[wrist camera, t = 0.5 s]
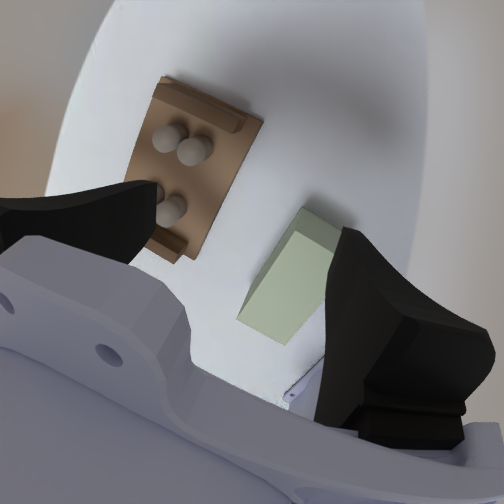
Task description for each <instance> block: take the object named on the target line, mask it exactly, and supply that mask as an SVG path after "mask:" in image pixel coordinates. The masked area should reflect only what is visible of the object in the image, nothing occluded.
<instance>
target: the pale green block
mask: <svg viewBox="0 0 504 504" xmlns="http://www.w3.org/2000/svg"><path fill="white" fill-rule="evenodd" d="M341 232H342V231H341V230H339V229H337V228H336V227H334V226H333V225H331V224H329V223H328V222H326V221H324V220H323V219H321V218H320V217H318V216H316V215H315V214H313V213H311V212H310V211H308V210H306V209H305V208H303V207H301V208H300V210H299V212H298V213H297V215H296V216H295V218H294V219H293V221H292V223H291V224H290V226H289V227H288V229H287V230H286V232H285V234H284V235H283V237H282V238H281V240H280V241H279V243H278V245H277V246H276V248H275V249H274V251H273V252H272V254H271V255H270V257H269V259H268V260H267V262H266V263H265V265H264V266H263V268H262V269H261V271H260V272H259V274H258V276H257V277H256V279H255V280H254V282H253V283H252V285H251V286H250V289H249V291H248V293H247V296H246V298H245V300H244V303H243V305H242V307H241V309H240V312H239V314H238V316H237V320H238V321H240V322H242V323H244V324H246V325H247V326H249V327H251V328H253V329H255V330H257V331H258V332H260V333H262V334H264V335H266V336H268V337H270V338H271V339H273V340H275V341H277V342H279V343H281V344H283V345H286V344H287V342H288V341H289V340H290V339H291V338H292V337H293V336H294V334H295V333H296V332H297V331H298V330H299V329H300V328H301V326H302V325H303V324H304V323H305V322H306V321H307V319H308V318H309V317H310V316H311V315H312V314H313V312H314V311H315V310H316V309H317V308H318V306H319V305H320V304H321V303H322V302H323V300H324V299H325V290H326V281H327V273H328V270H329V267H330V264H331V261H332V259H333V256H334V253H335V250H336V247H337V244H338V241H339V238H340V235H341Z"/></svg>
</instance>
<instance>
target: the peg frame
mask: <svg viewBox="0 0 504 504" xmlns="http://www.w3.org/2000/svg"><path fill="white" fill-rule="evenodd" d="M152 97H153V98H152V100H151V103H150V106H149V108H148V111H147V113H146V116H145V119H144V121H143V124H142V127H141V130H140V133H139V135H138V138H137V141H136V144H135V147H134V150H133V153H132V156H131V159H130V162H129V166H128V169H127V172H126V175H125V179H124V182H128V181H133V180H148V181H153V182H158V184H157V209H156V229H155V231H154V232H153V234H152V236H151V237H150V239H149V240H148V242H147V243H146V245H145V246H144V247H145V248H147V249H149V250H150V251H152V252H154V253H155V254H157V255H159V256H160V257H162V258H164V259H165V260H167V261H169V262H171V263H172V264H175V262H176V261H177V260H178V259H179V258H180V257H181V256H182V255H183V254H184V255H185V256H187V257H189V258H191V259H192V260H195V259H196V258H197V256H198V254H199V252H200V249H201V247H202V245H203V243H204V241H205V239H206V237H207V235H208V232H209V230H210V228H211V226H212V224H213V222H214V220H215V218H216V216H217V214H218V211H219V209H220V207H221V205H222V203H223V201H224V199H225V197H226V195H227V193H228V191H229V189H230V187H231V185H232V183H233V181H234V179H235V177H236V175H237V173H238V171H239V169H240V167H241V165H242V163H243V161H244V159H245V157H246V155H247V153H248V151H249V149H250V147H251V145H252V143H253V141H254V139H255V138H256V136H257V134H258V132H259V130H260V128H261V126H262V124H263V121H261V120H259V119H257V118H256V117H254V116H252V115H250V114H248V113H246V112H243V111H241V110H239V109H237V108H235V107H233V106H231V105H229V104H227V103H225V102H223V101H220V100H218V99H216V98H214V97H212V96H210V95H207V94H205V93H203V92H201V91H198V90H196V89H194V88H191V87H189V86H187V85H184V84H182V83H180V82H177V81H175V80H172V79H170V78H167V77H162V76H161V78H160V81H159V83H157V86H156V88H155V91H154V93H153V96H152Z"/></svg>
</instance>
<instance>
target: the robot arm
mask: <svg viewBox="0 0 504 504" xmlns="http://www.w3.org/2000/svg"><path fill="white" fill-rule="evenodd" d="M157 184H158V182H153V181H148V180H133V181H128V182H123V183H118V184H114V185H109V186H105V187H101V188H96V189H91V190H87V191H82V192H77V193H71V194H65V195H58V196H49V197H37V198H0V504H497V503H499V502H500V501H502V500H504V444H503V439H502V435H501V430H500V426H499V423H497V422H473V423H469V424H466V425H464V426H463V425H462V420H461V416H463V415H464V414H465V413H466V406H465V400H466V399H467V398H468V397H469V396H470V395H471V394H472V393H473V391H475V390H476V388H477V387H478V386H479V385H480V384H481V383H482V382H483V381H484V380H485V378H486V377H487V375H488V374H489V373H490V371H491V369H492V367H493V364H494V362H495V353H496V352H495V350H494V347H493V344H492V341H491V339H490V337H489V334H488V332H487V330H486V329H484V328H482V327H480V326H477V325H476V324H473V323H471V322H469V321H467V320H465V319H463V318H461V317H459V316H458V315H456V314H454V313H452V312H451V311H449V310H447V309H445V308H444V307H442V306H441V305H439V304H438V303H436V302H435V301H433V300H432V299H430V298H429V297H428V296H426V295H425V294H424V293H422V292H421V291H420V290H418V289H417V288H415V287H414V286H413V285H412V284H411V283H410V282H409V281H408V280H406V279H405V278H404V277H403V276H402V275H401V274H400V273H399V272H398V271H397V270H396V269H395V268H394V267H393V266H392V265H391V264H390V263H389V262H388V261H387V260H386V259H385V258H384V257H383V256H382V255H381V254H380V252H379V251H378V250H377V249H376V248H375V247H374V246H373V244H372V243H371V242H370V241H369V240H368V239H367V238H366V237H365V236H364V235H363V234H362V233H361V232H360V231H358V230H354V229H351V228H347V227H344V226H343V229H342V232H341V235H340V238H339V241H338V244H337V247H336V250H335V253H334V256H333V259H332V261H331V264H330V267H329V270H328V273H327V281H326V290H325V325H326V343H325V355H324V357H323V358H322V359H321V360H320V361H319V362H318V363H317V364H316V365H315V366H314V367H313V368H312V369H311V370H310V371H309V372H308V373H307V374H306V375H305V376H304V377H303V378H302V379H301V380H300V381H299V382H297V383H296V384H295V385H294V386H293V387H292V388H291V389H290V390H289V391H288V392H287V393H286V394H285V395H284V396H283V400H284V401H285V402H287V403H290V405H289V410H285V409H283V408H281V407H278V406H276V405H274V404H272V403H270V402H267V401H265V400H263V399H261V398H259V397H257V396H254V395H252V394H250V393H248V392H246V391H244V390H242V389H240V388H238V387H236V386H234V385H232V384H230V383H228V382H226V381H224V380H222V379H220V378H218V377H216V376H214V375H212V374H211V373H209V372H207V371H205V370H203V369H201V368H199V367H198V366H196V365H195V364H193V362H192V361H191V355H190V341H191V329H190V325H189V322H188V318H187V314H186V311H185V307H184V306H183V305H182V303H181V302H180V301H179V300H178V299H177V298H176V297H175V295H174V294H173V293H172V292H171V291H170V290H169V288H168V287H167V286H166V285H165V284H164V283H163V282H162V281H160V280H158V279H156V278H154V277H152V276H151V275H149V274H147V273H145V272H143V271H141V270H140V269H138V268H136V267H134V266H130V265H128V264H129V263H130V262H131V261H132V260H133V259H134V257H135V256H136V255H137V254H138V253H139V252H140V251H141V250H142V248H143V247H144V246H145V245H146V243H147V242H148V240H149V239H150V237H151V236H152V234H153V232H154V231H155V229H156V209H157Z"/></svg>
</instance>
